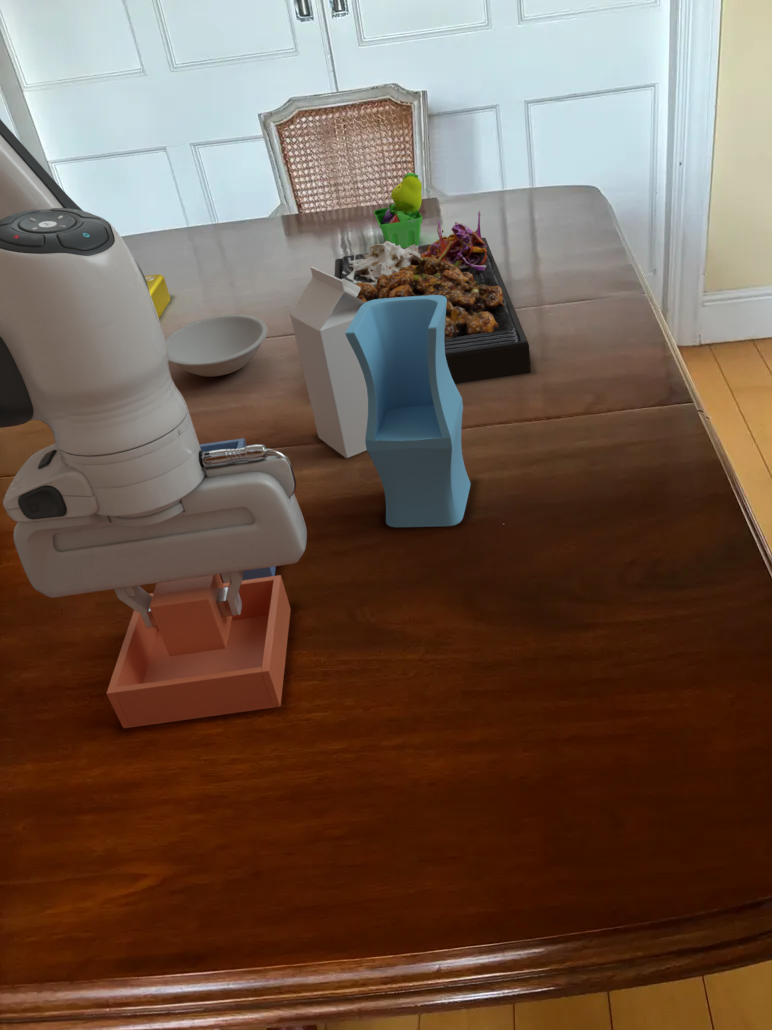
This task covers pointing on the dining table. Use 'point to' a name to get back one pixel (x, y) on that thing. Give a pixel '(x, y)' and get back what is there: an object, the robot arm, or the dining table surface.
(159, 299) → the element tile
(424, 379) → the blue wingback chair
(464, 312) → the food platter
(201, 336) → the dish
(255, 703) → the terracotta tray
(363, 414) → the milk carton
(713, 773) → the dining table surface
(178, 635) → the terracotta block
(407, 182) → the fruit basket
